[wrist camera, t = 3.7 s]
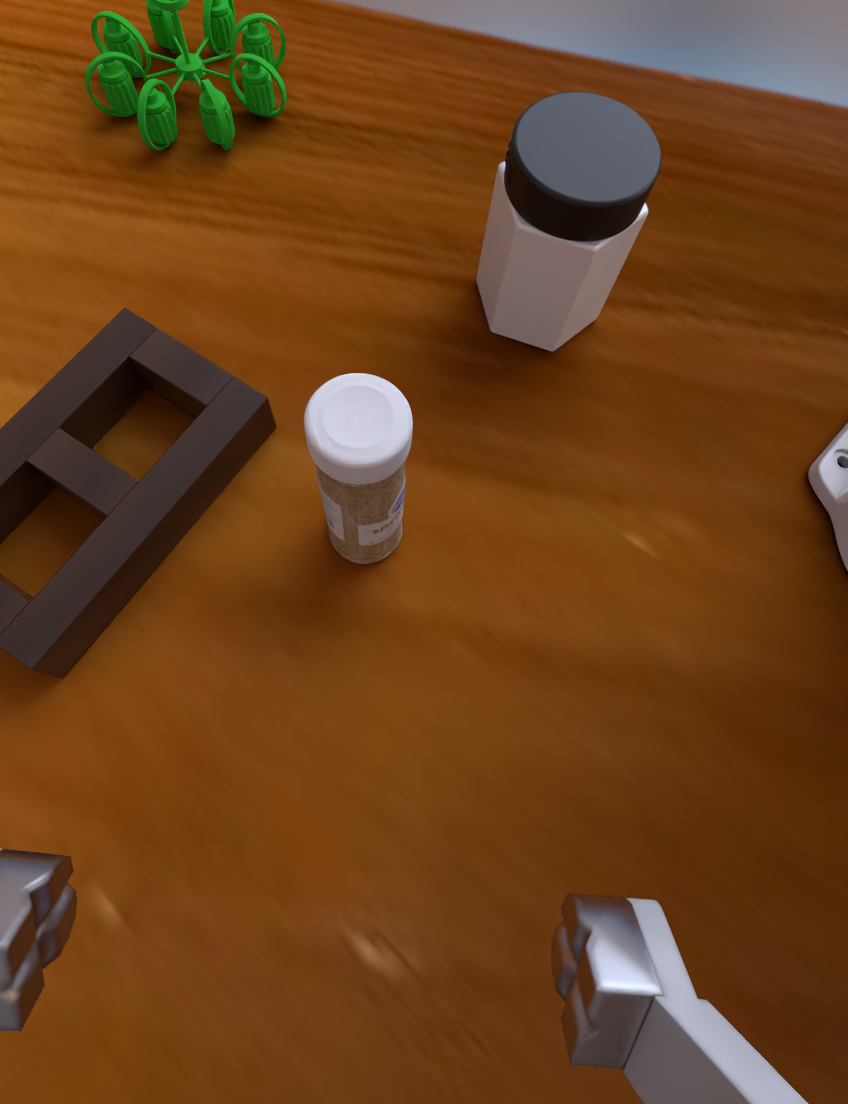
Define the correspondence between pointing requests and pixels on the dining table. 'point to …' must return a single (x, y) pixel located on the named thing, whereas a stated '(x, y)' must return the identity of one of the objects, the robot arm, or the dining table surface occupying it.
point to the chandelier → (186, 69)
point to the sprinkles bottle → (360, 462)
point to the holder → (116, 479)
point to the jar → (564, 215)
